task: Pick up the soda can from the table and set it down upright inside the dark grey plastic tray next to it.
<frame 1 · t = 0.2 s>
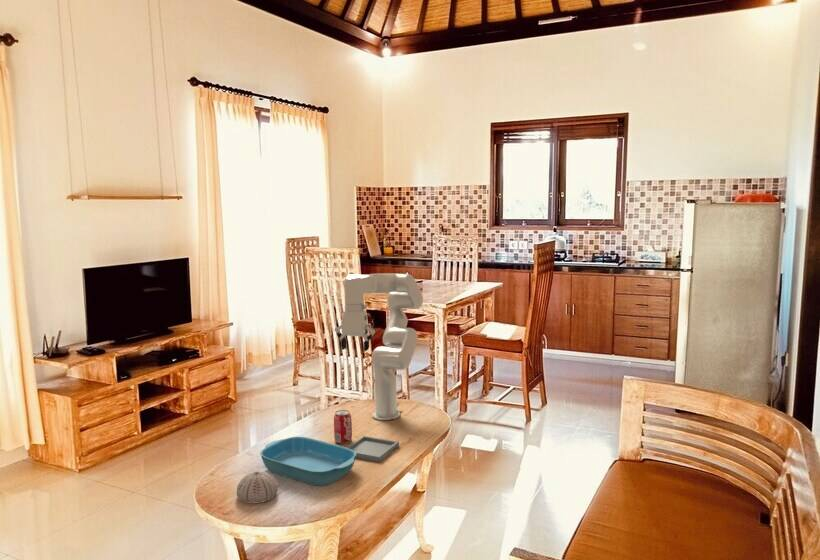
hand: (355, 349, 241), 36 cm above the table, tool pointing down, fingers open, 9 cm apart
tray: (371, 450, 229), on the table
casserole dish: (308, 471, 213), on the table
sea urchin shell: (257, 497, 194), on the table
soda can: (343, 441, 239), on the table
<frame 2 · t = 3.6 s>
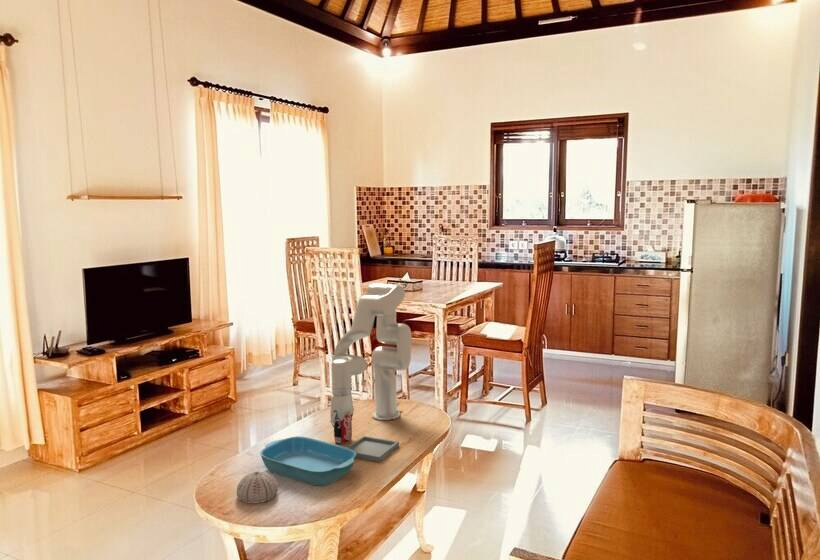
hand: (343, 433, 238), 3 cm above the table, tool pointing down, fingers closed on soda can, 6 cm apart
soda can: (343, 441, 239), on the table, touching gripper
everything else where it was.
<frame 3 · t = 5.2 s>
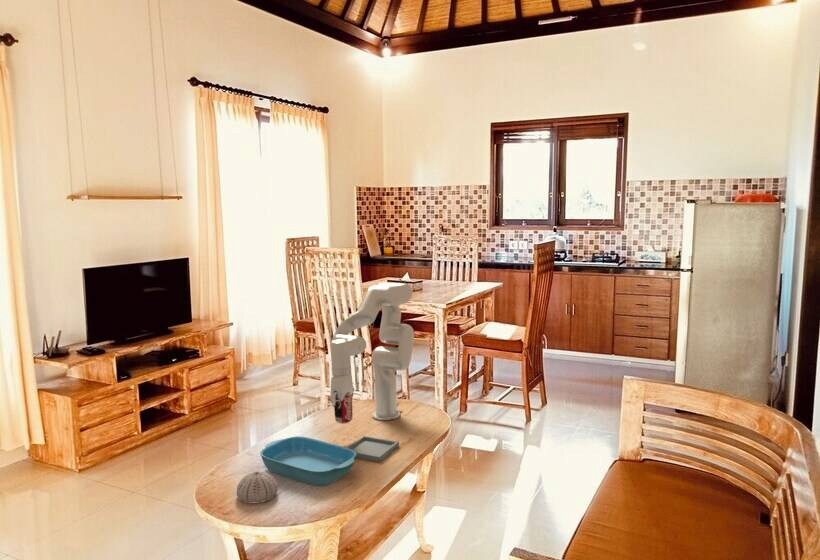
hand: (343, 413, 238), 11 cm above the table, tool pointing down, fingers closed on soda can, 6 cm apart
soda can: (344, 421, 239), point 8 cm above the table, touching gripper
everything else where it was.
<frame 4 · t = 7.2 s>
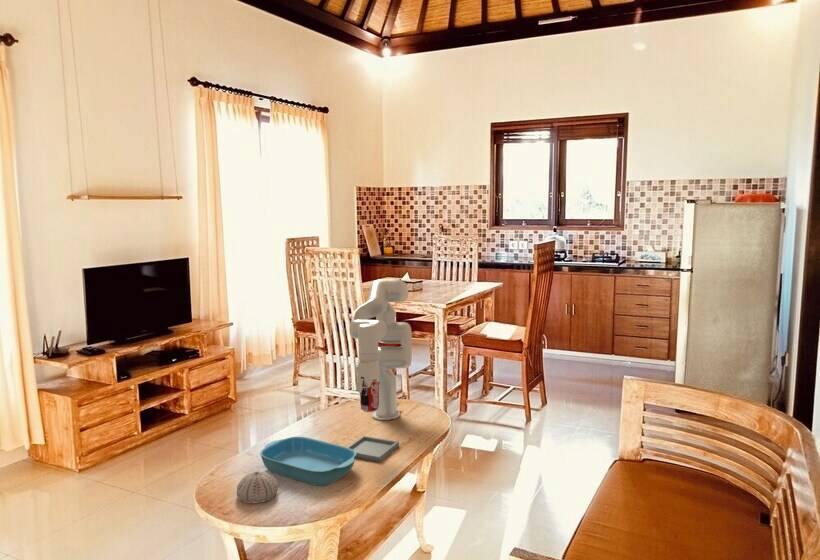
hand: (369, 401, 227), 19 cm above the table, tool pointing down, fingers closed on soda can, 6 cm apart
soda can: (369, 410, 227), point 16 cm above the table, touching gripper
everything else where it was.
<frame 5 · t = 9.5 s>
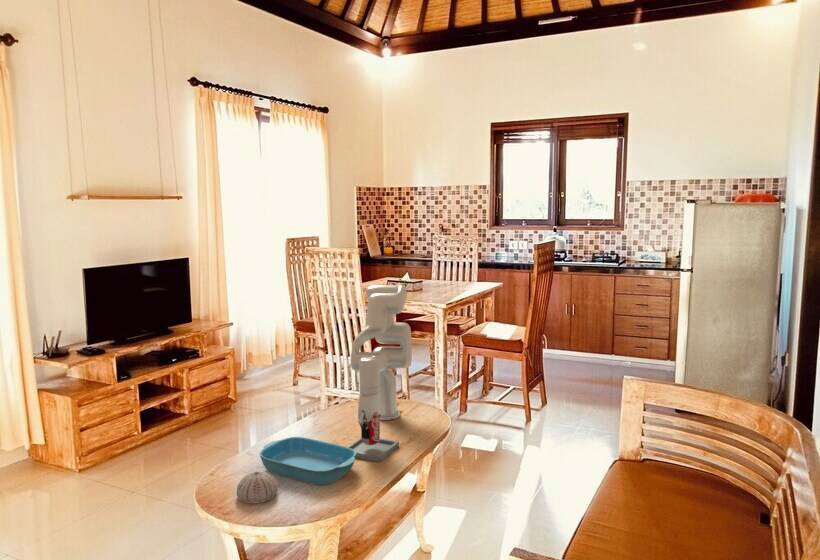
hand: (370, 434, 228), 6 cm above the table, tool pointing down, fingers closed on soda can, 6 cm apart
soda can: (370, 443, 228), point 3 cm above the table, touching gripper
everything else where it was.
when the fingers open (6 cm above the table, at t = 10.5 s): soda can drops 2 cm, resting on tray.
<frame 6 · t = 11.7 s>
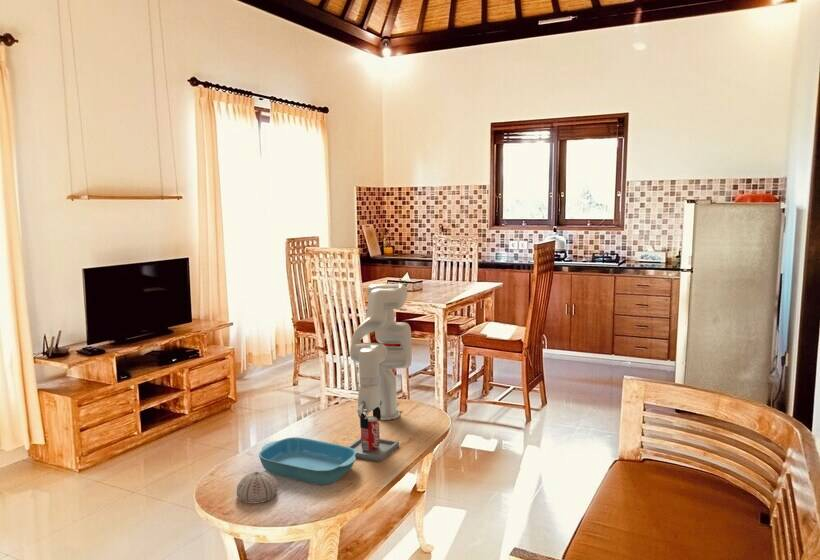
hand: (370, 423, 228), 11 cm above the table, tool pointing down, fingers open, 9 cm apart
soda can: (370, 449, 228), point 1 cm above the table, touching gripper, tray
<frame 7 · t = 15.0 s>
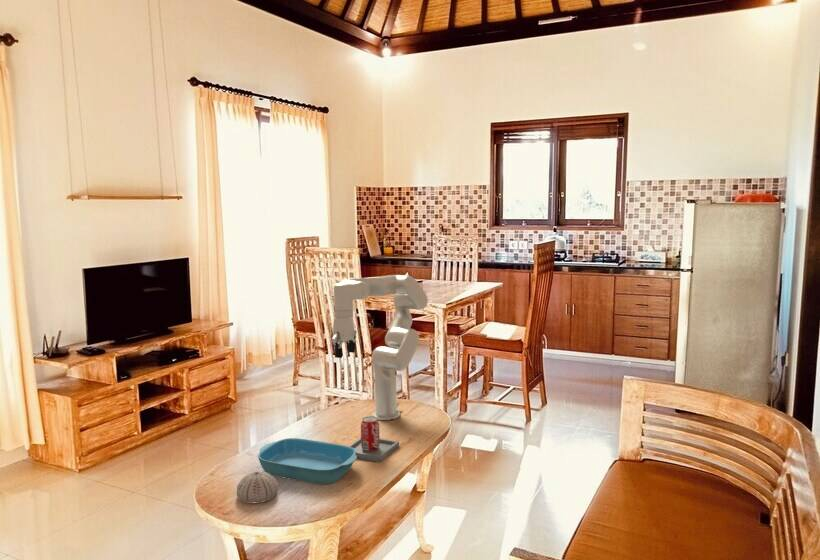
hand: (345, 354, 243), 33 cm above the table, tool pointing down, fingers open, 9 cm apart
soda can: (370, 449, 228), point 1 cm above the table, touching tray
at the end: soda can inside the target area on the tray (0.4 cm from its centre), point 0.6 cm above the tray's base; soda can tilted 0°; the gripper is holding nothing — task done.
